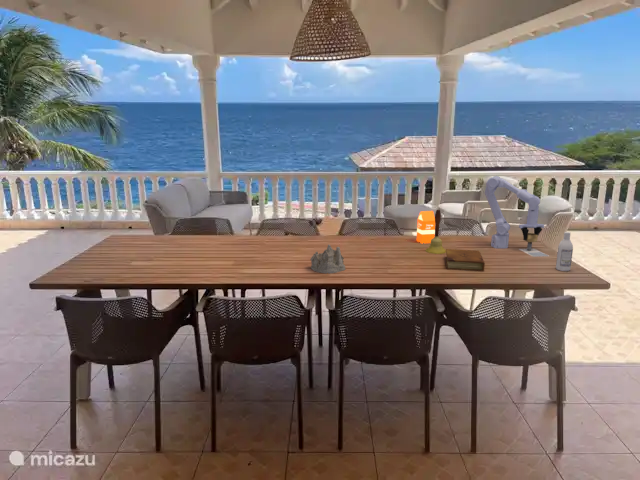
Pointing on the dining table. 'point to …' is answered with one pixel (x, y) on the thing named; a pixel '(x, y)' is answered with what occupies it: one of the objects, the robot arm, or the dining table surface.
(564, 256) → the bath foam
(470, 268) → the diary
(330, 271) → the grey sandcastle
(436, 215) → the handbell
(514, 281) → the dining table surface
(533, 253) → the board
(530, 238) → the collar
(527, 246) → the post
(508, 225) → the robot arm
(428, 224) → the orange juice
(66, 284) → the dining table surface
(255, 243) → the dining table surface
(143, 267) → the dining table surface
